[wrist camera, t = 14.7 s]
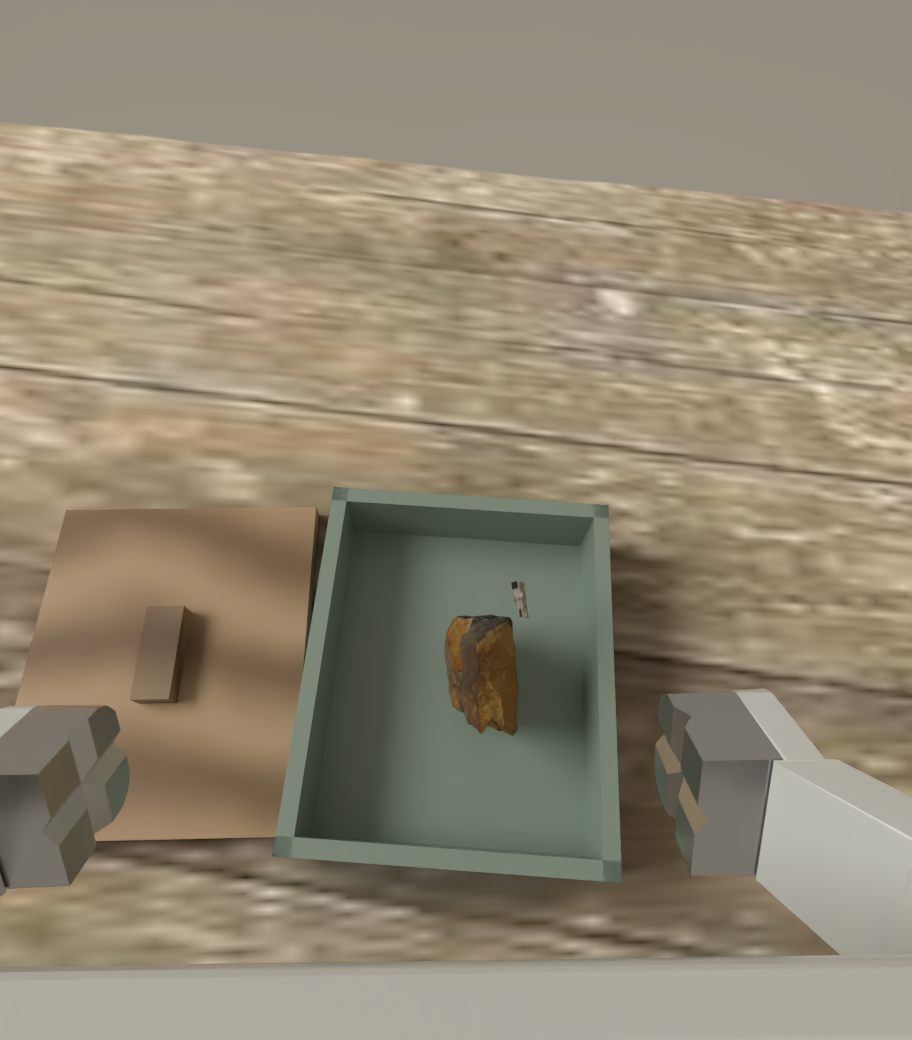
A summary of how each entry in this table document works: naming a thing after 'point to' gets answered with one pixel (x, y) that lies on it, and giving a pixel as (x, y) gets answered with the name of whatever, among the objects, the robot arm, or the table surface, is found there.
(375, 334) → the table surface
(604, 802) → the bin
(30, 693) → the lid
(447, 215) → the table surface
